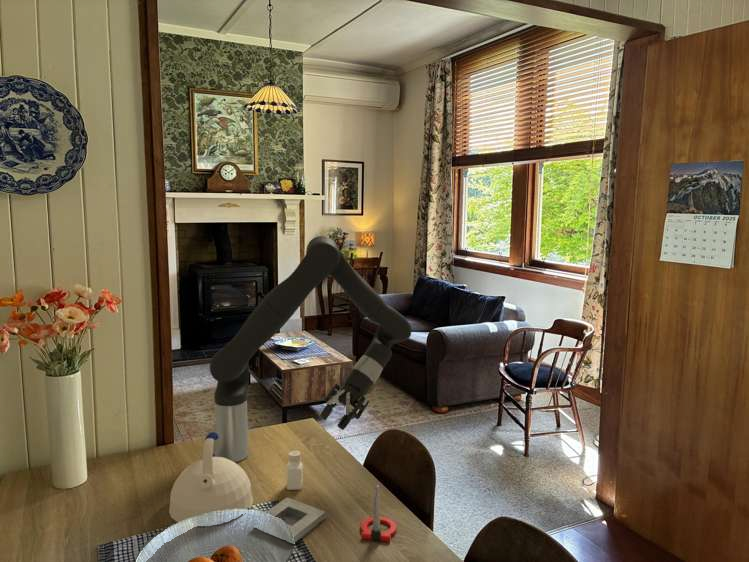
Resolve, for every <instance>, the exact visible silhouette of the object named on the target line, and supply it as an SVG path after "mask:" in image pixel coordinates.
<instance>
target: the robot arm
mask: <svg viewBox="0 0 749 562" xmlns="http://www.w3.org/2000/svg"><path fill="white" fill-rule="evenodd" d="M328 276H330V277H331V278H333V280H334V281H335V282H336V283H337V284H338V285H339V286H340V288H341V289H342V290H343V291H344V293H345V294H346V295H347V297H348V298H349V300H350V301H351V302H352V303H353V304H354V306H355V307H356V308H357V309H358V310H359V311H360V312H361V313H362V314H363V315H364V316H365V317H366V318H367V319H368V321H370V322H372V323H375V324H377V325H379V326H378V328H377V329H376V331H375V332H374V336H373V338H372V341H371V344H370V345H369V346H368V347H367V349H366V350H365V352H364V354H363V355H362V356H361V357H360V359H359V360H358V361H357V362H356V363H355V365H353V367H352V369H351V370H350V372H349V373H348V375H347V376H346V377H345V378H344V385H343V386H341V385H339V384H338V383H335V385H334V386H333V387H332V388H331V390H330V391H329V392H328V394H327V395H326V396H325V397H324V399H323V400H324V402H325V403H326V405H325V407H324V408H323V410H322V411H321V413H320V414H319V416H320V418H321V419H322V420H324V421H326V420H327V419H328V418H329V416H330V415H331V414H332V412H333V411H334V409H335V408H337V407H341V406H344V407H345V408H346V410H345V414H343V416H342V418H341V419H340V420H339V422H338V423H337V425H336V426H337V428H339V429H340V430H342V431H344V430H345V429H346V428H347V427H348V425H349V424H350V423H351V421H352V420H354V419H356V420H359V419H360V418H361V416H362V414H363V413H364V411H365V410H366V409H367V406H368V405H369V404H370V403H369V402H370V401H369V400H368V398H367V397H366V396H367V395H368V393H369V392H370V390H372V388H373V386H374V385H375V383H376V382H377V380H378V379H379V378H380V376H381V374H382V371H383V370H384V368H385V367H386V366H387V364H388V363H389V361H390V359H391V358H392V355H393V352H392V346H393V344H394V343H396V342H397V343H403V342H405V341H407V340H409V339H410V337H411V335H412V327H411V324H410V322H409V320H408V319H407V318H406V317H405V316H404V315H402V314H401V313H400V312H398V311H397V310H396V309H395V308H394V307H392V306H390V305H389V304H388V303H387V302H386V301H385V300H384V299H383V298H382V297H381V295H380V294H379V293H378V292H377V291H376V290H375V289H374V288H372V286H370V284H369V283H368V282H367V281H366V280H364V278H363V277H362V276H361V275H360V274H359V273H358V272H357V271H356V270H355V269H354V268H353V266H352V265H351V264H350V263H349V262H348V260H347V259H346V258H345V256H344V254H343V253H342V252H341V250H340V249H339V247H338V244H337V243H336V241H335V240H333V239H332V238H331V237H329V236H325V235H319V236H316V237H313V238H312V239H311V240H310V241H309V242H308V243H307V246H306V251H305V255H304V256H303V258H302V260H301V261H300V263H299V264H298V265H297V266H296V268H295V270H293V272H292V273H291V274H290V275H289V276H288V277H287V278H286V279H284V280H283V281H282V282H280V283H279V284H277V285H276V286H274V288H273V289H271V290H270V291H269V292H267V293H266V295H265V296H264V297H263V298H262V299H261V301H260V302H259V303H258V305H257V306H256V307H255V309H253V311H252V312H251V314H250V315H249V316H248V317H247V319H246V320H245V322H244V323H243V325H242V326H241V328H240V329H239V331H238V332H237V333H236V334H235V335H234V336H233V337H232V339H231V340H229V341H228V343H226V344H225V345H224V346H223V347H222V348H221V349H220V350H218V351H217V352H216V353H215V354H214V355H213V356H212V357H211V359H210V363H209V372H210V375H211V377H212V378H213V379H214V380H215V381H217V383H216V388H215V391H214V399H213V400H214V419H215V420H214V422H215V423H214V424H213V426H212V432H215V433H217V434H218V437H219V438H218V439H217V440H214V443H213V453H214V454H215V457H223V458H226V459H228V460H231V461H233V462H235V463H237V462H241V461H243V460H245V459H246V458H247V457H249V436H248V435H249V432H248V430H249V429H248V428H249V427H248V391H249V381H250V380H249V378H250V377H249V375H250V364H249V361H251V358H252V357H253V356H254V354H255V353H257V352H258V350H260V348H261V347H262V346H263V345H265V344H266V343H267V342H269V340H271V339H272V338H273V337H274V336H275V335H276V334H277V333H278V332H279V331H280V330H281V329H282V328H283V327H284V326H285V324H286V323H287V322H288V321H289V320H291V318H292V316H293V315H294V314H295V313H296V312H297V310H298V309H299V308H300V306H301V305H302V304H303V303H304V301H305V300H306V299H307V297H308V296H309V294H311V292H312V291H313V290H314V289H315V288H316V287H317V286H318V285H319V284H320V283H322V282H323V280H324V279H325V278H327V277H328Z"/></svg>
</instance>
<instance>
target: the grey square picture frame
mask: <svg viewBox="0 0 749 562" xmlns="http://www.w3.org/2000/svg"><path fill="white" fill-rule="evenodd" d="M265 512H266V513H269V514H271V515H272V516H275V517H278V518H281V519H284V521H285V522H286V523H287V525H288V526H289V528H290V529H291V531H292V533H293V536H294V540H295V542H297V541H298V540H299V539H301V538H302V539H303V538H305V537H306V536H307V535H309V533H311V532H313V530H315V529H316V528H317V527H318V526H320V525H321V524H322V523H323V522H325V520H327V517H326V515H327V512H326V511H325V510H322V509H319V508H318V507H314V506H311V505H309V504H307V503H303V502H301V501H298V500H296V499H293V498H291V497H290V498H289V497H285V498H284V499H282V500H281V501H280V502H278V503H277V504H275V505H274V506H272V507H271V508H270V509H268V510H267V511H265ZM285 515H286V516H285ZM285 518H286V519H285ZM302 539H301V540H302ZM298 542H299V541H298ZM298 542H297V543H298Z"/></svg>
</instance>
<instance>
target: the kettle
mask: <svg viewBox="0 0 749 562" xmlns="http://www.w3.org/2000/svg"><path fill="white" fill-rule="evenodd" d="M218 438H219V437H218V434H217V433H215V432H213V431H211V432H209V433H207V435H206V436H205V438H204V443H203V446H202V447H203V449H202V459H198V460H196V461H194V462H192V463H191V464H189V465H188V466H187V467H186V468H185V469H184V470H182V472H181V473H180V474H179V475H178V477H177V478H176V480H175V481H174V483H173V486H172V488H171V491H170V496H169V497H170V499H169V510H168V513H169V515H170V518H171V519H172V520H174V521H175V522H176V523H178V522H177V521H180V520H183V519H186V518H189V517H192V516H196V515H200V514H203V513H207V512H210V511H216V510H224V509H234V508H249V509H250V508H251V507H252V505H253V502H254V499H253V493H252V486H251V481H250V479H249V477H248V474H247V473H246V472H245V470H244V469H243V468H242V467H241V466H240V465H239V464H238V463H237V462H233V461H231V460H228V459H226V458H223V457H216V456H215V454H214V440H217V439H218Z"/></svg>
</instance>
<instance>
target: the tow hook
mask: <svg viewBox="0 0 749 562" xmlns="http://www.w3.org/2000/svg"><path fill="white" fill-rule="evenodd" d="M380 497H381V496H380V486H379V485H375V494H374V500H373V501H374V502H373V503H374V505H373V506H374V507H373V508H374V509H373V510H374V511H373V513H374V514H373V516H371V517H368V518H365V519H364V520H363V521H362V522H361V524H360V531H361V537H360V538H361V540H368V541H372V542H385V543H386V542H388V543H391V541H392V537H393V536H394V535H395V534H396V533H397V531H398V530H397V528H398V527H397V526H398V525H397V523H396V522H395V521H394V520H392V519H391V518H389V517H384V516H380V504H381V502H380V501H381V500H380V499H381V498H380ZM380 522H382V523H380ZM371 524H372V528H371V529H369V526H370V525H371ZM381 524H385V525H387V526H388V527H389V529H387V530H386V531H385V530H384V531H383V532H382V527H381Z"/></svg>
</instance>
